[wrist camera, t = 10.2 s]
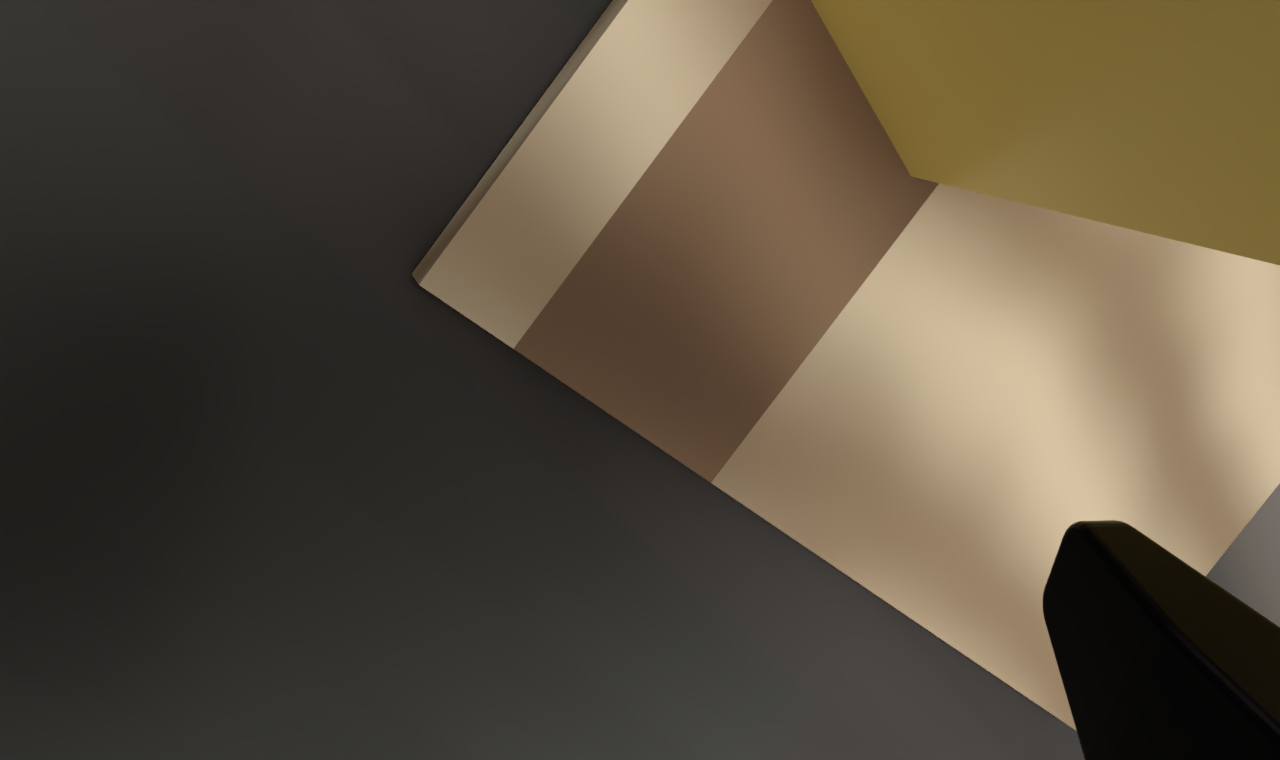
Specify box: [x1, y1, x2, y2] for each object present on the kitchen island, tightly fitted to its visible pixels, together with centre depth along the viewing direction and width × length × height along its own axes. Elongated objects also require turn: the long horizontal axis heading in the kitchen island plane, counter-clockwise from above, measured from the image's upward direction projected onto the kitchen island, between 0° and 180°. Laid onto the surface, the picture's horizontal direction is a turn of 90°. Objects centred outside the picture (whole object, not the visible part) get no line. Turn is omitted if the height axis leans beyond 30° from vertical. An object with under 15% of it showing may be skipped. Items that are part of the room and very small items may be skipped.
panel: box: [412, 0, 1280, 731], centre depth 22 cm, size 15×21×1 cm
